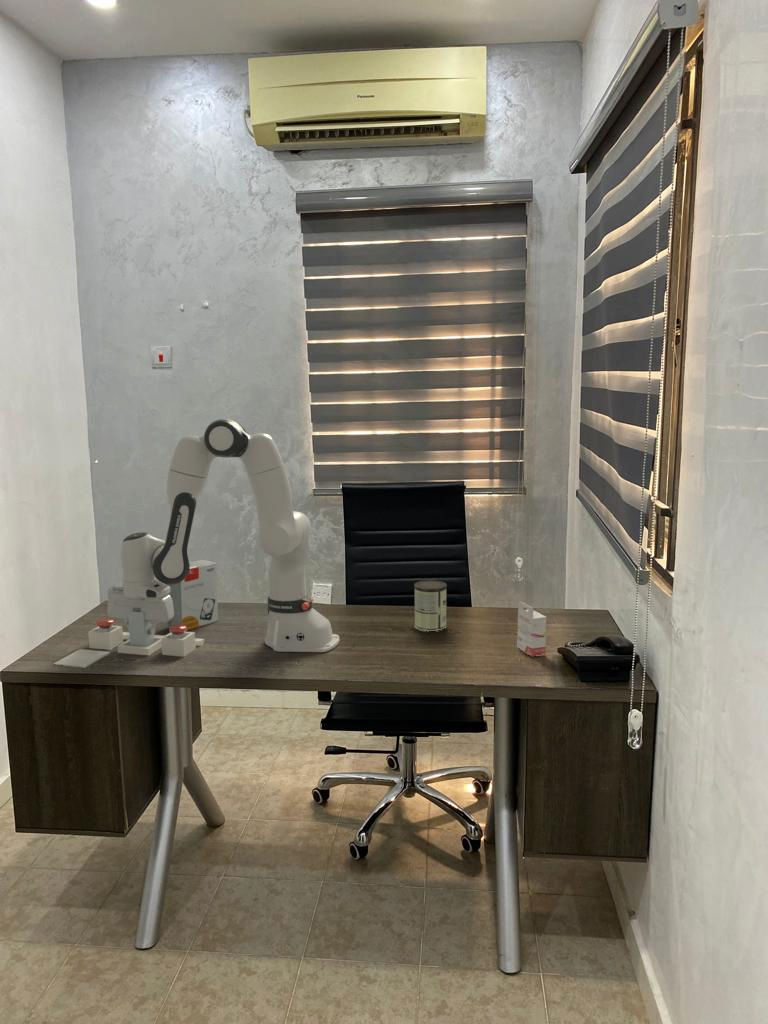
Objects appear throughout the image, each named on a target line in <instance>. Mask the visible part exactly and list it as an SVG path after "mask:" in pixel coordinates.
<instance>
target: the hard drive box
mask: <svg viewBox="0 0 768 1024" xmlns="http://www.w3.org/2000/svg"><path fill="white" fill-rule="evenodd" d="M189 565H190V569H189V573H188V575H187V576H186V578H185V579H184V580H183V581H181V582H179V583H177V584H172V585H168V584H165V585H167V586H169V587H170V593H168V594H169V595H170V596H171V598H172V601H173V607H174V616H173V618H172V619H171V620H169V621H168V622H166V628H167V629H169V627H170V626H172V625H177V624H183V625H186V626H187V630H186V631H190V630H191V631H192V630H193V629H195V628H200V627H202V626H205V625H210V624H212V623H215V622H219V613H218V612H219V609H218V607H219V605H218V603H219V602H218V571H217V570H218V565H217V562H216V561H215V562H214V561H210V560H205V559H197V560H195V561H189Z"/></svg>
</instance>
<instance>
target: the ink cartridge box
mask: <svg viewBox="0 0 768 1024" xmlns="http://www.w3.org/2000/svg"><path fill="white" fill-rule="evenodd" d="M546 645H547V616H546V615H544V614H542V613H540V612H538V611H536V610H534V607H532V606H531V605H528V604H527V603H524V602H522V601H521V600H520V601H519V603H518V611H517V638H516V648H517V647H518V648H520V649H521V650H523V651H525V652H526V653H528V654H530V655H531V656H536V655H542V654H545V655H546V650H547V649H546V648H547V647H546Z"/></svg>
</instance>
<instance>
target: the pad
mask: <svg viewBox="0 0 768 1024" xmlns="http://www.w3.org/2000/svg"><path fill="white" fill-rule="evenodd" d="M110 654H111V653H110V651H103V650H93V649H81V648H80V649H77V650H75V651H74V652H72V653H70V654H68V655H66V656H64V657H63V658H61V659H59V660H57V661H56V662H54V663H53V665H54V664H55V665H54V666H61V665H63V666H62V667H72V668H83V669H85V668H88V667H89V666H91V665H93V664H94V663H96V662H98V661H99V660H101V659H103V658H105V657H106V656H108V655H110Z"/></svg>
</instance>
